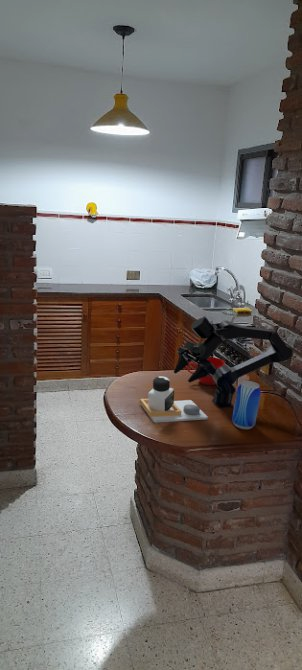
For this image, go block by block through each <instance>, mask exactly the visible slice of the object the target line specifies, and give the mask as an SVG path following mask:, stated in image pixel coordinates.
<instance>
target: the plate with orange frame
mask: <svg viewBox="0 0 302 670" xmlns="http://www.w3.org/2000/svg"><path fill="white" fill-rule="evenodd" d="M139 404H140V406H141V407H142V408H143V409H144V411H145V412H146V414H147V415H148V417H150V419H151V420H152V421H153V422H154V423H157V424H158V423H168V422H169V423H170V422H183V421H184V422H186V421H198V420H199V421H201V420H202V421H203V420H208V419H209V416H207V414H205V413H204V411H203V410H201V408H200V407H199V406H198V405H197V404H196V403H195V402H194V401H192V400H191V399H184V400H174V405H173V406H172V407H171V408H170V409H169V410H168V411H154V410H151V409H150V408H149V406H148V398H140V399H139Z"/></svg>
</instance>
